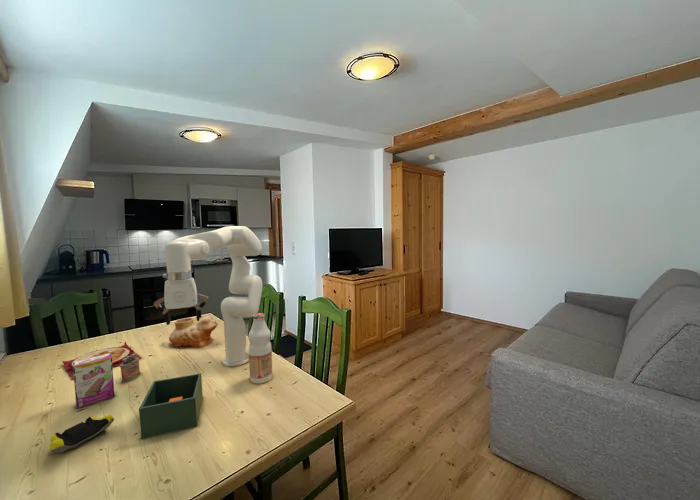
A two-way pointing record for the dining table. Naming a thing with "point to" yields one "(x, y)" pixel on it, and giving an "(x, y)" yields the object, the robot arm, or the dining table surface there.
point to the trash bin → (171, 405)
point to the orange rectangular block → (176, 399)
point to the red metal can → (130, 368)
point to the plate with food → (115, 352)
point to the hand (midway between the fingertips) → (183, 321)
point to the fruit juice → (260, 350)
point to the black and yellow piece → (79, 433)
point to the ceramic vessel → (192, 332)
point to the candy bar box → (93, 380)
